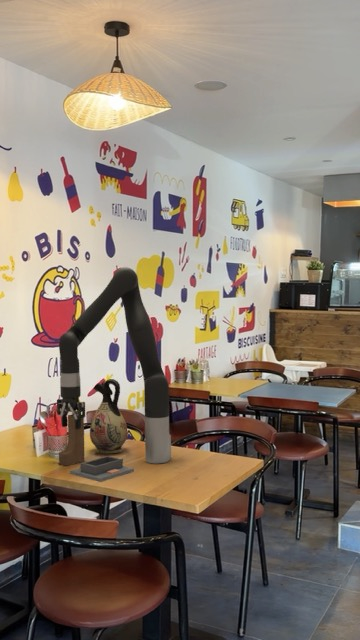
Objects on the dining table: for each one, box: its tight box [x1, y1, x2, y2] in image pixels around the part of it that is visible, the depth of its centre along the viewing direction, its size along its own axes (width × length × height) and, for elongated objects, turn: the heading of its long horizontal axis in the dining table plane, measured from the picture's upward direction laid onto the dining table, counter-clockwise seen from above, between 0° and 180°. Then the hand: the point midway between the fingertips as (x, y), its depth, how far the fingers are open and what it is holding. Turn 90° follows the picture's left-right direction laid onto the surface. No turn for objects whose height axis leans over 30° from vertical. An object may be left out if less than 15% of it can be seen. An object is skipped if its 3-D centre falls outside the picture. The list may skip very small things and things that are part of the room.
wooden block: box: [58, 413, 85, 466], centre depth 235 cm, size 9×4×18 cm, turn 137°
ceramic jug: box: [89, 378, 129, 454], centre depth 251 cm, size 17×15×30 cm
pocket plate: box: [69, 455, 135, 482], centre depth 221 cm, size 16×16×4 cm
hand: (71, 427), depth 234 cm, fingers open, 7 cm apart
